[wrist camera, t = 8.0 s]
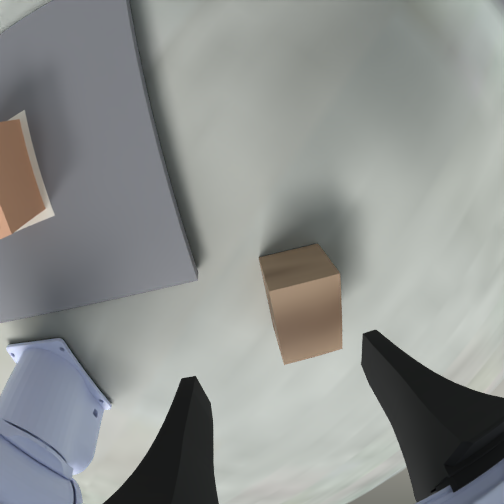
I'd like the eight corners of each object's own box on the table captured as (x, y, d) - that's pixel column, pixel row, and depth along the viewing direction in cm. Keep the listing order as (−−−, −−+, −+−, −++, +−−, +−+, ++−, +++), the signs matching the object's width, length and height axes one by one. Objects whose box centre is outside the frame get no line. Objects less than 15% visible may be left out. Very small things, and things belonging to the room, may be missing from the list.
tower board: (198, 272, 19) (197, 280, 18) (-5, 318, 19) (-10, 325, 18) (125, -25, 10) (121, -31, 9) (-75, 111, 10) (-83, 113, 9)
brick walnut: (324, 313, 22) (342, 348, 19) (273, 326, 22) (284, 364, 19) (317, 243, 20) (340, 273, 16) (258, 257, 20) (269, 291, 16)
